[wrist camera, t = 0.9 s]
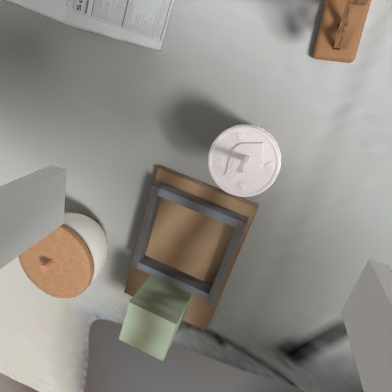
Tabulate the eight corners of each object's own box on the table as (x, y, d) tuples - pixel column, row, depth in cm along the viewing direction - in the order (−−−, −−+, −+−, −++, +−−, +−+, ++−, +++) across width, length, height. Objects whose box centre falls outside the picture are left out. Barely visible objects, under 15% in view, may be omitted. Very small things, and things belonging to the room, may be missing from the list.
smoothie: (296, 145, 35) (298, 176, 22) (253, 183, 38) (234, 231, 25) (255, 104, 35) (234, 111, 22) (215, 145, 37) (176, 173, 25)
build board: (258, 204, 38) (249, 236, 30) (207, 325, 46) (188, 377, 37) (161, 166, 40) (127, 185, 32) (128, 287, 48) (93, 329, 39)
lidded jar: (73, 272, 50) (28, 310, 41) (46, 209, 48) (-7, 235, 39) (131, 263, 46) (94, 302, 38) (105, 195, 44) (60, 220, 35)
